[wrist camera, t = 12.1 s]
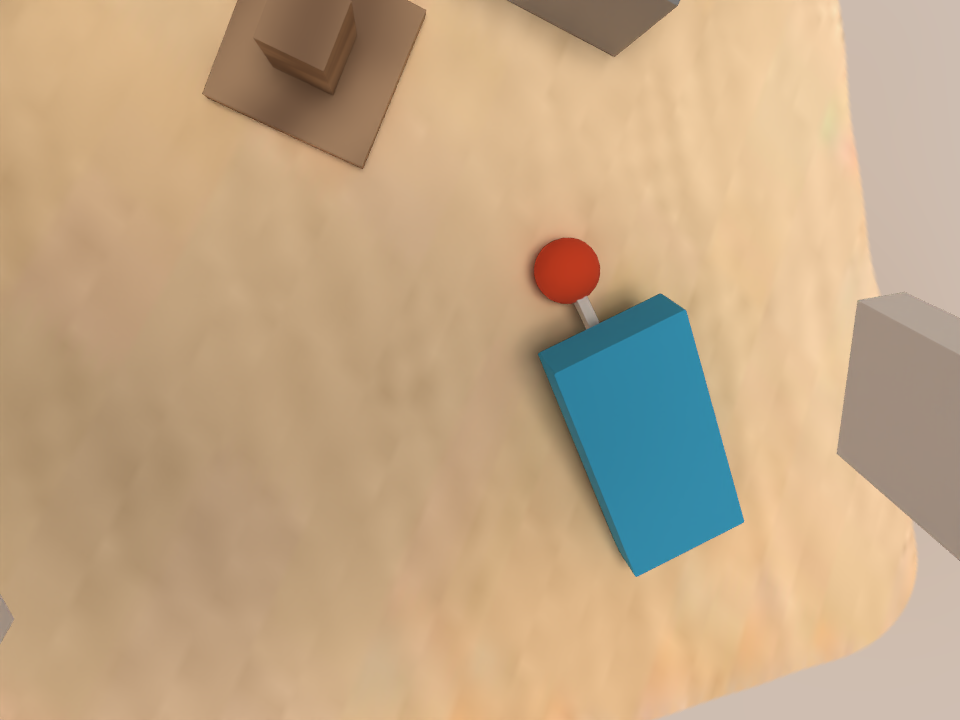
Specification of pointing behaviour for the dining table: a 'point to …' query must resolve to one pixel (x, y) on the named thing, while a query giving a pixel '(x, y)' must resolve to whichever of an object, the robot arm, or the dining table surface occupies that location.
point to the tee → (316, 67)
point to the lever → (638, 415)
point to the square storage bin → (602, 18)
